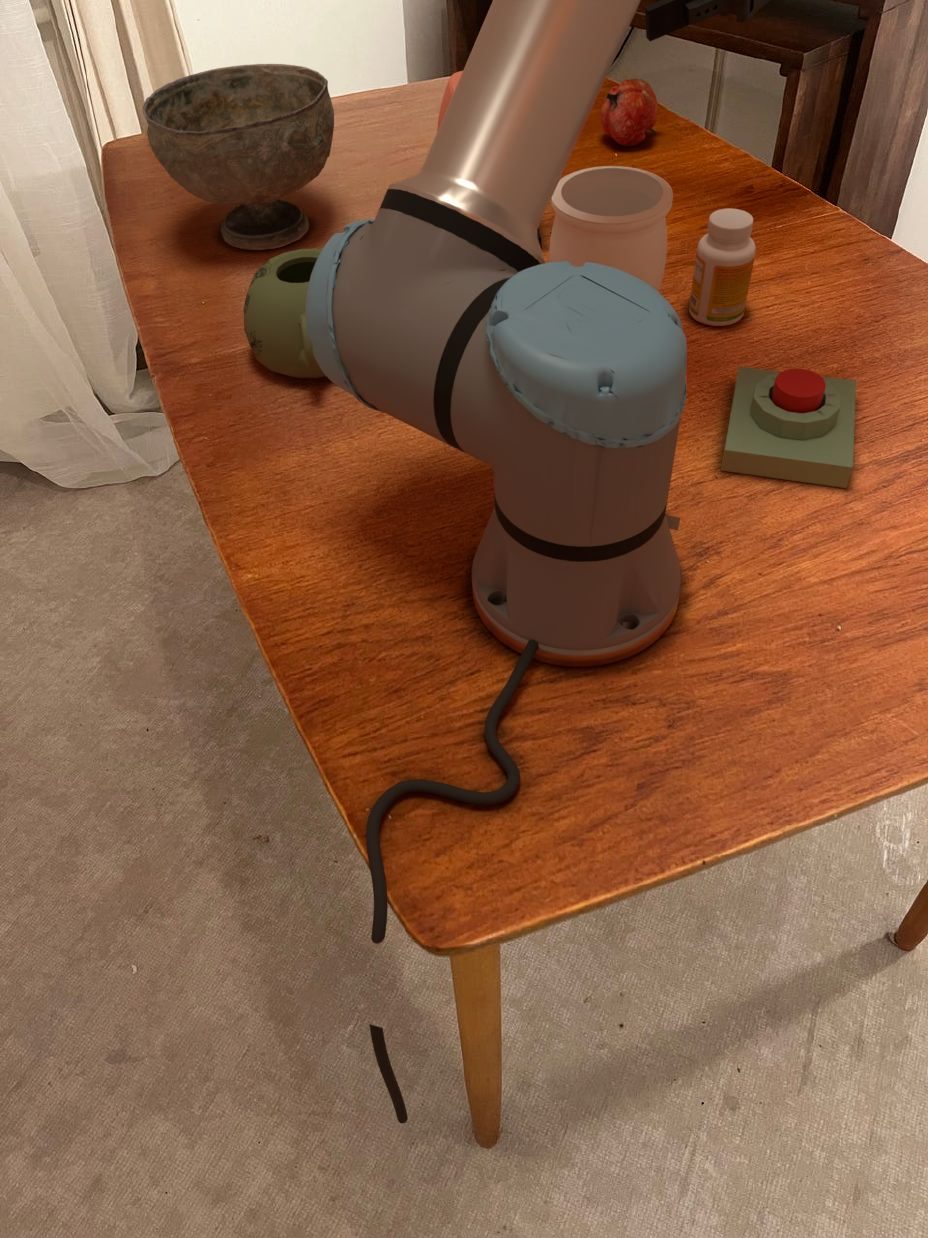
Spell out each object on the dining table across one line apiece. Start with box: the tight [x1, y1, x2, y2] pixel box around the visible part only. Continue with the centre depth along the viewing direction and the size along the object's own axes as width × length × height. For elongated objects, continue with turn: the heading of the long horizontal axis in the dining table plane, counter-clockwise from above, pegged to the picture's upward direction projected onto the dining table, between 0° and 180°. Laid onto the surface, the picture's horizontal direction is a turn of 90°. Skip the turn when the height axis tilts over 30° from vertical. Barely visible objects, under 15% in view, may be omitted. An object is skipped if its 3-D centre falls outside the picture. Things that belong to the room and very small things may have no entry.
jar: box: [548, 165, 674, 293], centre depth 88 cm, size 11×10×15 cm
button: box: [772, 367, 826, 414], centre depth 81 cm, size 4×4×2 cm
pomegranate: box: [600, 78, 658, 147], centre depth 122 cm, size 7×7×10 cm
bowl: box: [142, 63, 335, 251], centre depth 107 cm, size 20×19×15 cm
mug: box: [243, 248, 327, 379], centre depth 92 cm, size 16×13×9 cm
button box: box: [720, 366, 857, 489], centre depth 82 cm, size 12×10×4 cm
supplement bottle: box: [688, 207, 757, 327], centre depth 93 cm, size 5×5×10 cm
